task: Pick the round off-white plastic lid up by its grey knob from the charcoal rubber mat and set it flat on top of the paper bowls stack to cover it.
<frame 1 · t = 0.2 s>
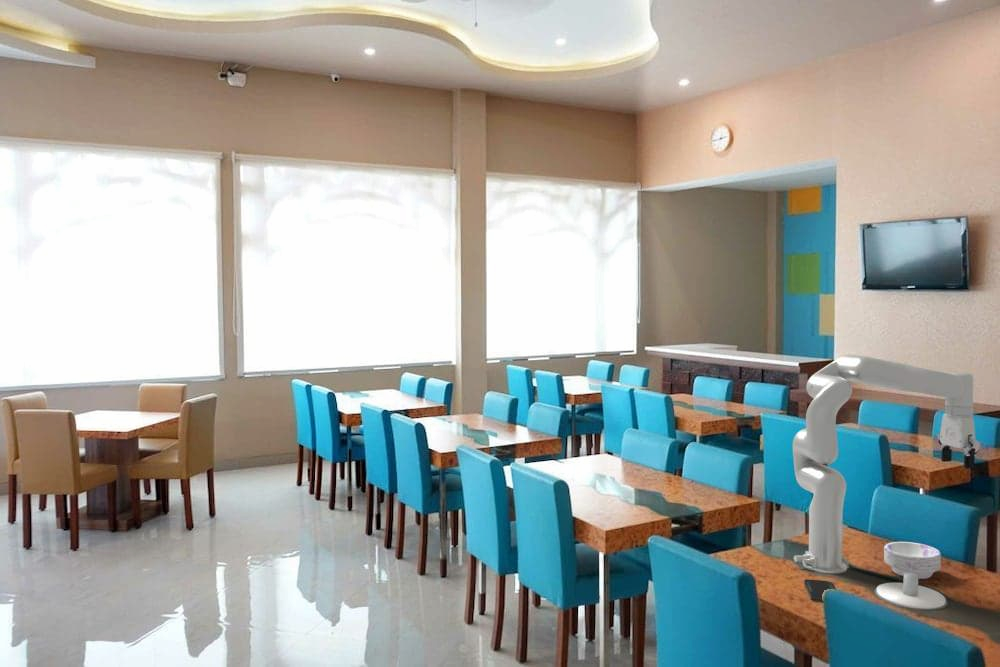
hand: (957, 464, 241), 31 cm above the table, tool pointing down, fingers open, 9 cm apart
paper bowls: (911, 574, 231), on the table
phone: (821, 594, 217), on the table
mat: (910, 598, 212), on the table
lid: (910, 596, 212), resting on mat
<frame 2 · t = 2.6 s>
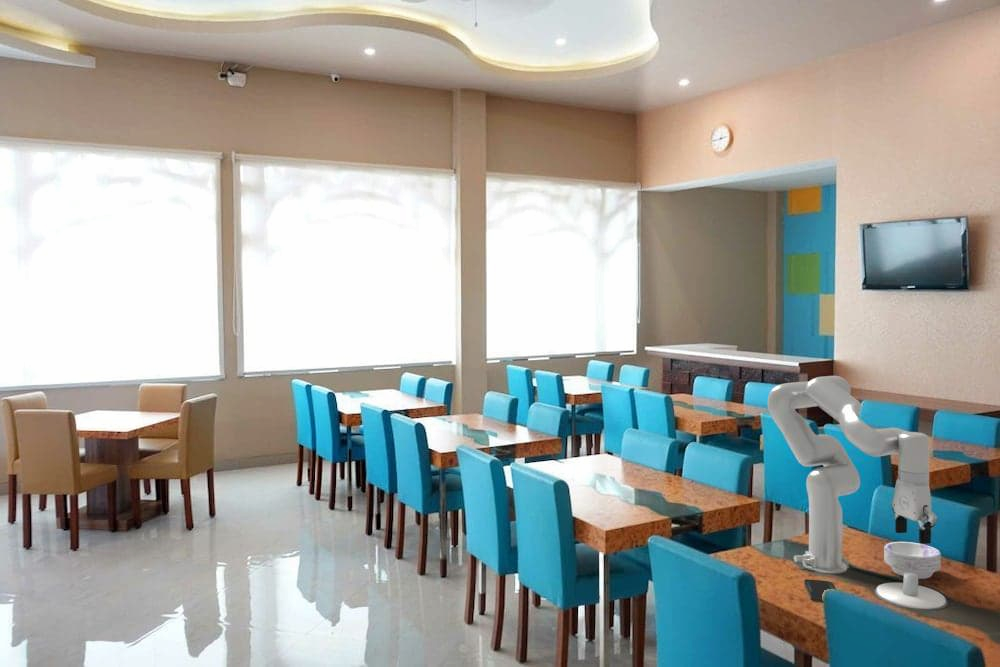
hand: (912, 537, 211), 17 cm above the table, tool pointing down, fingers open, 9 cm apart
nothing on the table moved.
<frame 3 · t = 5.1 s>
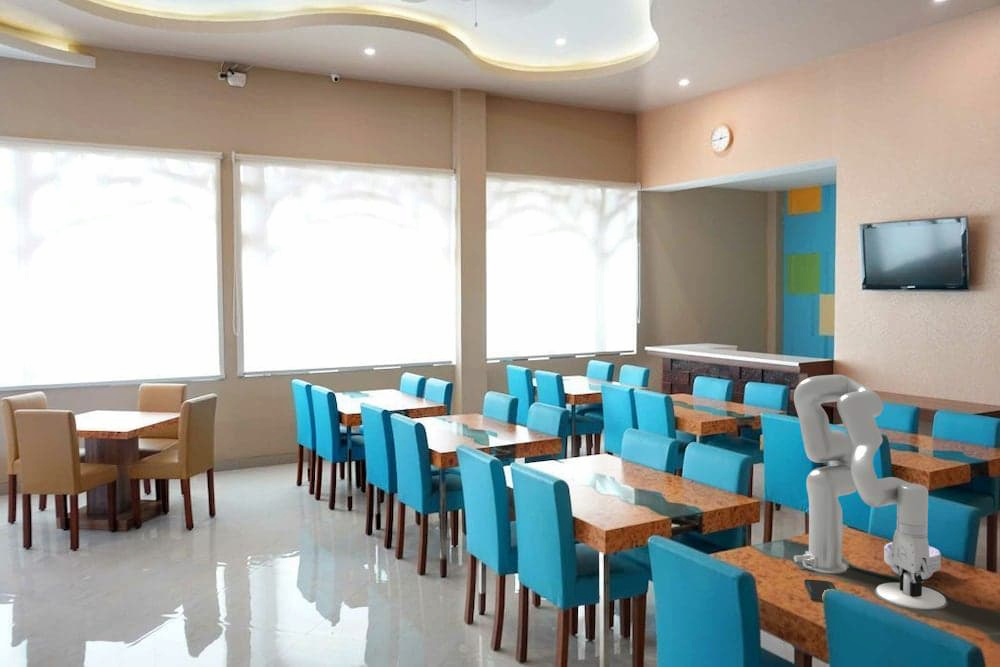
hand: (910, 592, 212), 2 cm above the table, tool pointing down, fingers closed on lid, 3 cm apart
lid: (910, 596, 212), resting on mat, touching gripper
everything else where it was.
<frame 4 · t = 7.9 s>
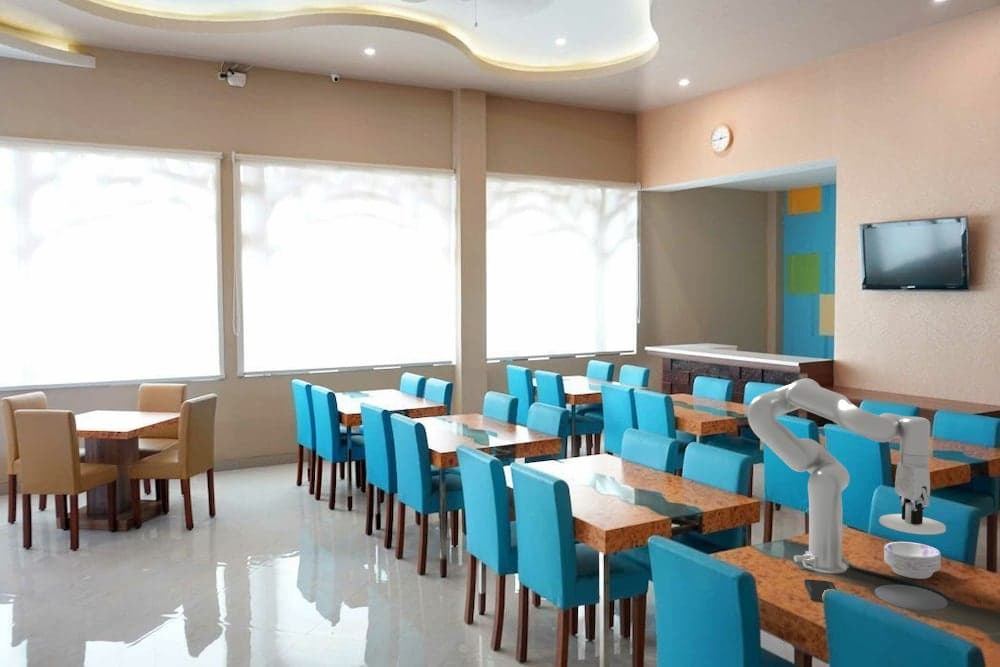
hand: (911, 521, 221), 19 cm above the table, tool pointing down, fingers closed on lid, 3 cm apart
lid: (911, 525, 221), point 18 cm above the table, touching gripper
everything else where it was.
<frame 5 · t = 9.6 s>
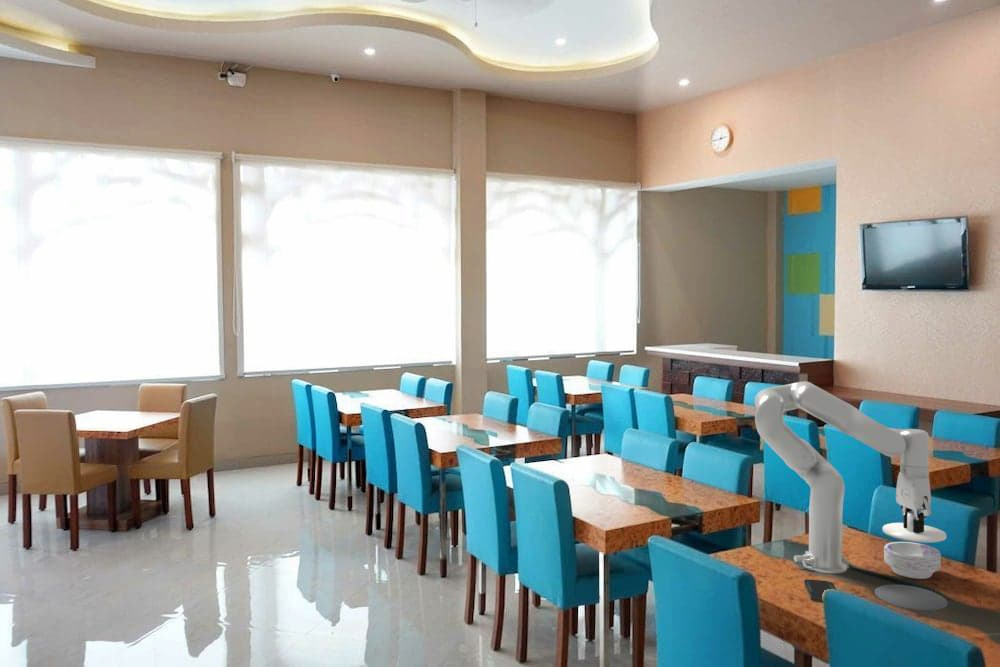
hand: (913, 529, 230), 14 cm above the table, tool pointing down, fingers closed on lid, 3 cm apart
lid: (913, 533, 230), point 13 cm above the table, touching gripper
everything else where it was.
when the fingers open (11 cm above the table, at t = 10.8 s): lid drops 2 cm, resting on paper bowls.
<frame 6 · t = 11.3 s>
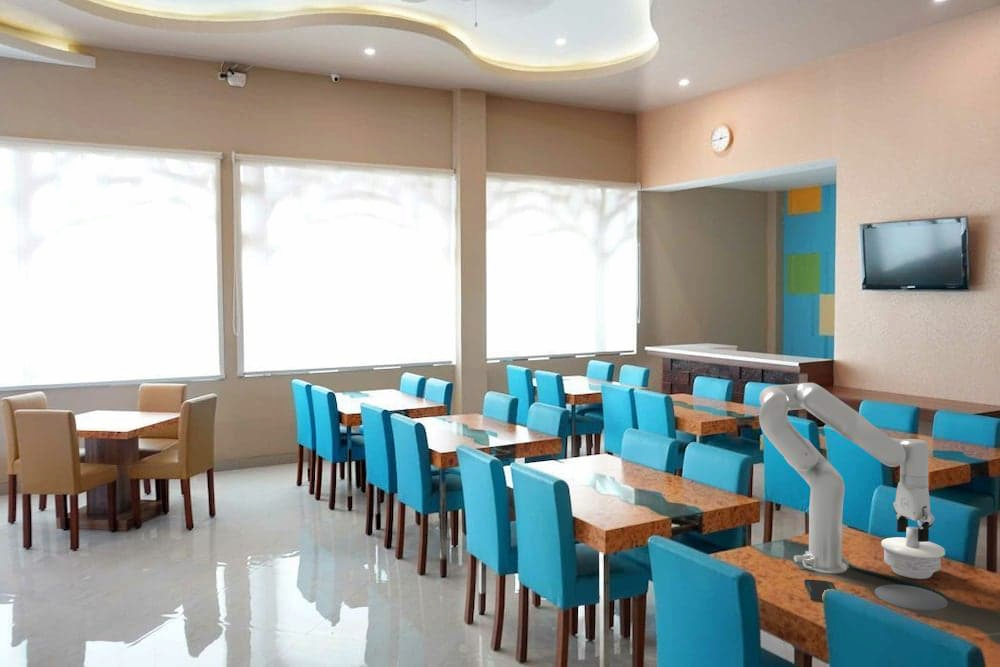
hand: (912, 536, 230), 12 cm above the table, tool pointing down, fingers open, 8 cm apart
paper bowls: (911, 575, 231), on the table, touching lid
lid: (912, 548, 230), point 8 cm above the table, touching paper bowls
everything else where it was.
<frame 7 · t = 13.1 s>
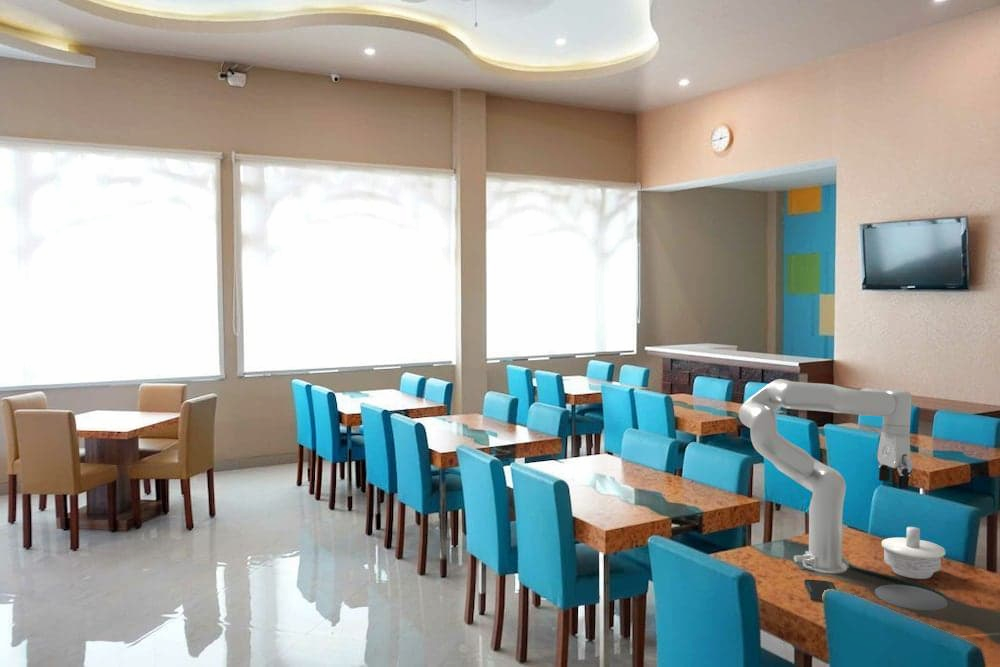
hand: (893, 484, 235), 26 cm above the table, tool pointing down, fingers open, 9 cm apart
nothing on the table moved.
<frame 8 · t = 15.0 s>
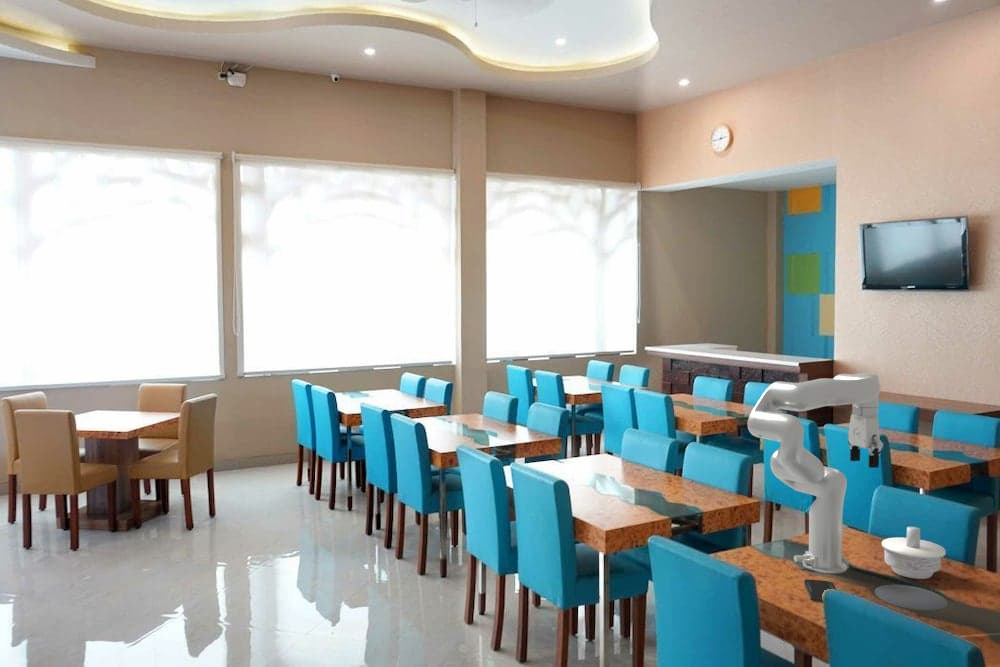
hand: (864, 464, 245), 30 cm above the table, tool pointing down, fingers open, 9 cm apart
nothing on the table moved.
at the end: lid 0.1 cm from the paper bowls (horizontally); lid point 7.8 cm above the table; lid tilted 0° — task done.
